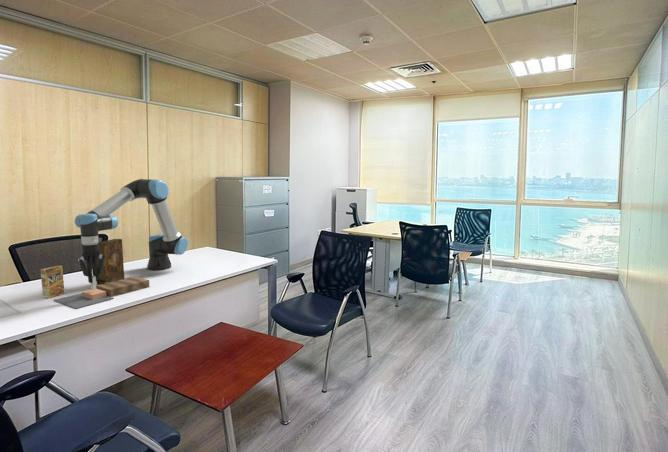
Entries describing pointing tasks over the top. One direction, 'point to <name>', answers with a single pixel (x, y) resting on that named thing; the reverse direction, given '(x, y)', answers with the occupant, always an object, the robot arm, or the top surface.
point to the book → (111, 261)
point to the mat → (81, 301)
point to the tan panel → (123, 286)
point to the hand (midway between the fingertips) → (93, 288)
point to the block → (94, 294)
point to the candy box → (52, 281)
